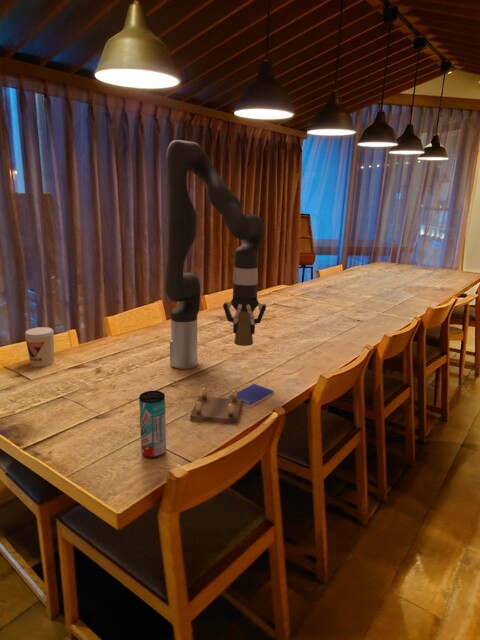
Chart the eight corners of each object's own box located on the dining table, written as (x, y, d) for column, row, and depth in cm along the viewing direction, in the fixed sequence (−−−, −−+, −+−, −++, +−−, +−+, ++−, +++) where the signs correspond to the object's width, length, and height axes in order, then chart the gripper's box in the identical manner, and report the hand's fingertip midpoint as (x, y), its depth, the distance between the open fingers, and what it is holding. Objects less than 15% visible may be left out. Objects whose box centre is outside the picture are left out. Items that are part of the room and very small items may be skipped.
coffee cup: (22, 365, 158) (18, 332, 155) (41, 356, 167) (38, 325, 163) (43, 369, 155) (39, 336, 152) (62, 360, 164) (59, 328, 160)
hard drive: (249, 404, 133) (273, 390, 142) (228, 395, 137) (253, 383, 147) (249, 409, 133) (273, 395, 142) (228, 400, 138) (253, 387, 147)
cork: (231, 340, 145) (232, 307, 142) (248, 338, 148) (249, 306, 145) (238, 346, 140) (239, 312, 137) (256, 344, 142) (257, 311, 139)
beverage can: (145, 444, 112) (143, 389, 108) (168, 446, 112) (167, 391, 108) (138, 458, 107) (135, 400, 102) (162, 460, 106) (161, 402, 102)
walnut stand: (190, 420, 124) (190, 404, 123) (198, 400, 136) (198, 385, 134) (237, 424, 123) (237, 407, 122) (241, 403, 135) (241, 388, 133)
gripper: (269, 280, 141) (266, 332, 146) (223, 278, 142) (223, 330, 147) (268, 285, 134) (265, 339, 139) (220, 283, 135) (220, 337, 140)
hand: (243, 334), depth 143 cm, fingers closed on cork, 4 cm apart
